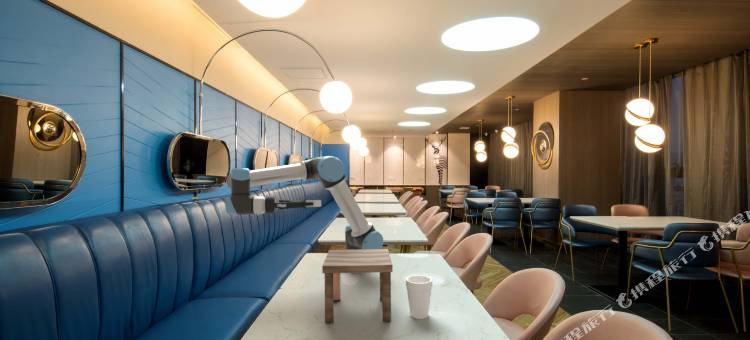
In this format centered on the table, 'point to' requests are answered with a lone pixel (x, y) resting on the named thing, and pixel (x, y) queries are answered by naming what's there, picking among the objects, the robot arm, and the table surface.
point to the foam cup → (419, 295)
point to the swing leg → (336, 286)
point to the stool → (358, 264)
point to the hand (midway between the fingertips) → (321, 203)
